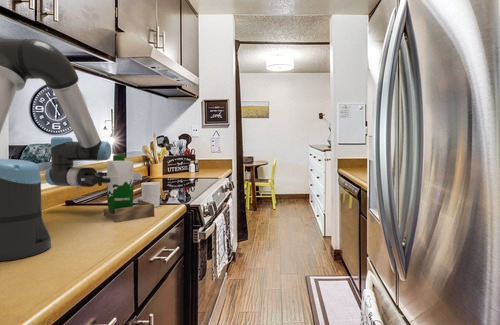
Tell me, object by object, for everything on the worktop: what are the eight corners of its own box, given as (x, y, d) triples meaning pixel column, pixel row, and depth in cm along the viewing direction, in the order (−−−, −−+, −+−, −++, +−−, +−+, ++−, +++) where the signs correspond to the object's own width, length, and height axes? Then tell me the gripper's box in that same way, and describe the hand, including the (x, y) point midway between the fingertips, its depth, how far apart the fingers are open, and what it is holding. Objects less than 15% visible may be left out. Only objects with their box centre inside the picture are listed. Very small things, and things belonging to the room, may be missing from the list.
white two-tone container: (129, 207, 125) (129, 155, 125) (135, 210, 118) (135, 155, 117) (105, 209, 120) (105, 155, 120) (109, 212, 113) (110, 155, 112)
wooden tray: (115, 222, 112) (115, 209, 112) (103, 215, 122) (103, 203, 122) (154, 216, 121) (154, 204, 121) (140, 210, 131) (139, 199, 131)
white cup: (155, 208, 135) (154, 184, 135) (138, 207, 137) (137, 184, 136) (164, 204, 143) (163, 182, 142) (147, 204, 144) (147, 182, 144)
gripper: (105, 182, 138) (149, 184, 133) (57, 191, 114) (108, 193, 109) (105, 165, 138) (149, 165, 132) (56, 170, 114) (107, 171, 108)
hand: (131, 178), depth 120 cm, fingers open, 13 cm apart
